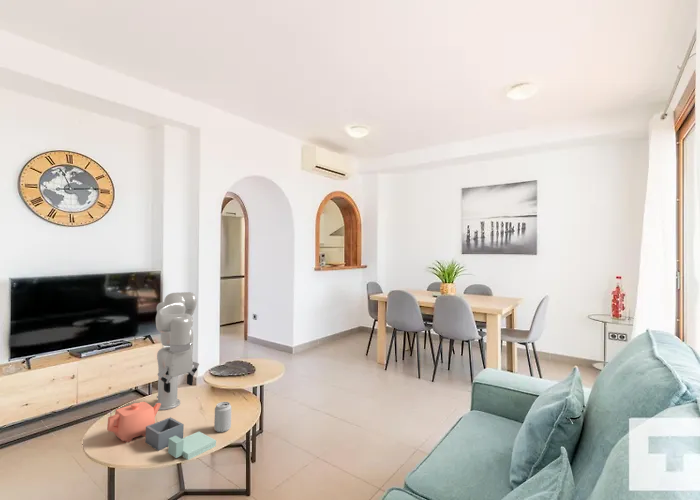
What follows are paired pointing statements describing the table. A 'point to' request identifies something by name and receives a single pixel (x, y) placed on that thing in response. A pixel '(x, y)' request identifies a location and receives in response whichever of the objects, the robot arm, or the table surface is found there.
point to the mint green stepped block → (190, 445)
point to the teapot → (132, 420)
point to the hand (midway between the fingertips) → (178, 388)
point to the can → (222, 417)
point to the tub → (163, 433)
